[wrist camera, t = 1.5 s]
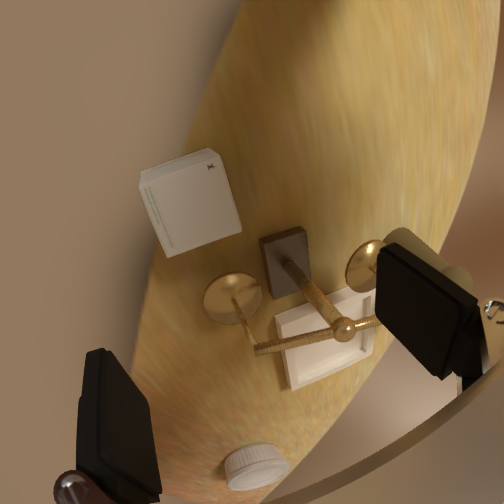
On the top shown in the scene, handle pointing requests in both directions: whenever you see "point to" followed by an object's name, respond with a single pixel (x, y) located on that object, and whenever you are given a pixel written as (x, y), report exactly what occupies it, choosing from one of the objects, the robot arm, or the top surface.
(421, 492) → the robot arm
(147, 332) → the top surface
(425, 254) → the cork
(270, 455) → the ramekin
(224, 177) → the small box
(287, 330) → the dish
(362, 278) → the balance
